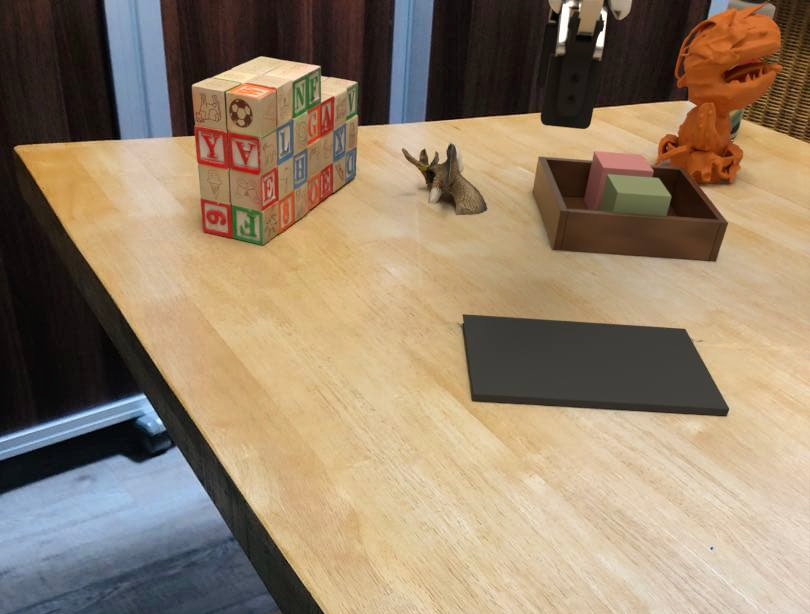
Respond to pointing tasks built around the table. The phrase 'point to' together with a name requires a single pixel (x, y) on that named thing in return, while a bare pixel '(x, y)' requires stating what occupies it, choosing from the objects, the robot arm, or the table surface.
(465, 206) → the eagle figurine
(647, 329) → the mat
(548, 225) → the crate
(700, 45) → the toy dinosaur
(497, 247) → the table surface
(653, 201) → the green block
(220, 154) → the stack of blocks
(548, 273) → the table surface
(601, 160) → the pink block
